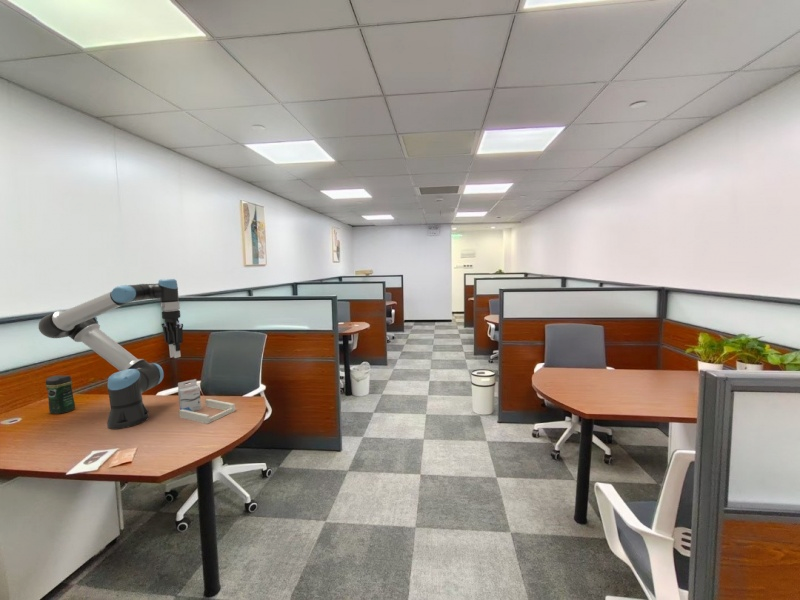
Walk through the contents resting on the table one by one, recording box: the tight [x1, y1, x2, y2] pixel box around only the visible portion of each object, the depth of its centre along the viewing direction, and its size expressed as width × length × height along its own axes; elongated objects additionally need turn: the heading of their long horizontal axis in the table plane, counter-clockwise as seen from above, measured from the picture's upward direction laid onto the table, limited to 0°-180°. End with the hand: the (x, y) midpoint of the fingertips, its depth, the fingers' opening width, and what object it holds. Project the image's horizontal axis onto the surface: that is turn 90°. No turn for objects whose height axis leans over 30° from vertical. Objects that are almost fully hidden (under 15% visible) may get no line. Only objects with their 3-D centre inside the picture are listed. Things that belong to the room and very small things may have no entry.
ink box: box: [177, 378, 202, 412], centre depth 168 cm, size 8×5×15 cm, turn 134°
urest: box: [178, 398, 236, 425], centre depth 164 cm, size 19×15×4 cm
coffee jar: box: [45, 375, 76, 415], centre depth 173 cm, size 10×8×19 cm
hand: (175, 357), depth 170 cm, fingers open, 3 cm apart
